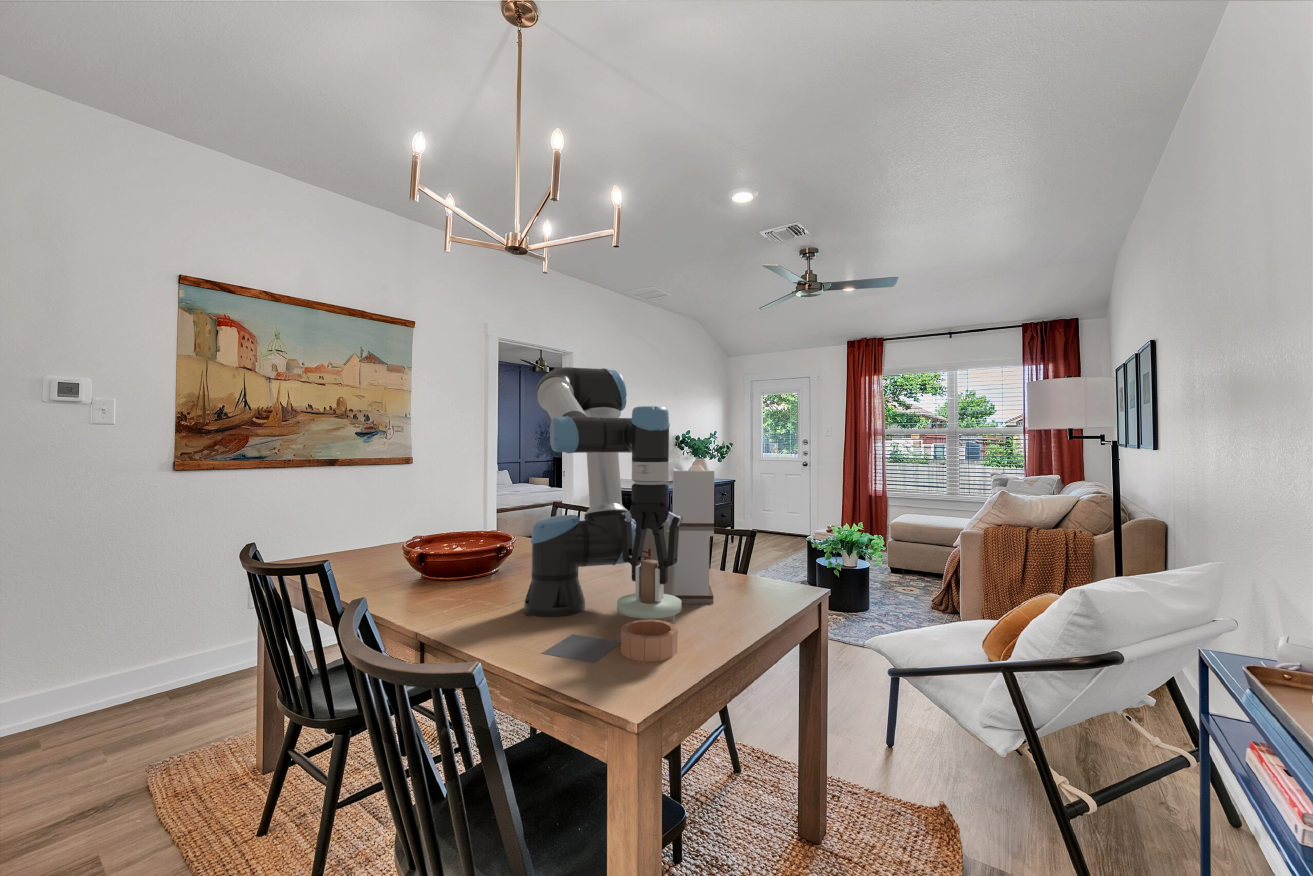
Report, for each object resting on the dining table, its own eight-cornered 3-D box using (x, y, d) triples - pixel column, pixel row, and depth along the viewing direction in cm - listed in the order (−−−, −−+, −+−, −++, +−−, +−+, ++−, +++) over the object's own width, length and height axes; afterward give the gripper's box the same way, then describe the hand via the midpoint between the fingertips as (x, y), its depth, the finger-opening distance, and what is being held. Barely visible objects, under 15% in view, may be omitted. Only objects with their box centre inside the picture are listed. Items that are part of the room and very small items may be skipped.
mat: (541, 656, 113) (541, 653, 113) (572, 636, 124) (572, 634, 124) (594, 665, 108) (594, 662, 108) (621, 644, 119) (621, 642, 119)
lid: (605, 613, 111) (606, 565, 111) (633, 597, 123) (633, 553, 123) (667, 622, 106) (667, 571, 106) (690, 603, 118) (690, 558, 118)
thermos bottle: (648, 632, 127) (649, 507, 127) (635, 621, 135) (636, 503, 135) (680, 627, 131) (681, 506, 131) (666, 617, 138) (667, 502, 138)
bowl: (611, 658, 112) (611, 633, 112) (635, 640, 122) (635, 617, 122) (664, 667, 108) (664, 641, 108) (684, 647, 118) (684, 623, 118)
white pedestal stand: (713, 603, 150) (714, 471, 150) (673, 603, 150) (674, 470, 150) (709, 591, 161) (710, 468, 161) (672, 591, 161) (672, 468, 161)
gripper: (604, 482, 115) (604, 598, 115) (682, 485, 108) (682, 608, 108) (621, 480, 122) (620, 590, 121) (695, 482, 115) (694, 598, 115)
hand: (649, 598), depth 115 cm, fingers closed on lid, 4 cm apart
